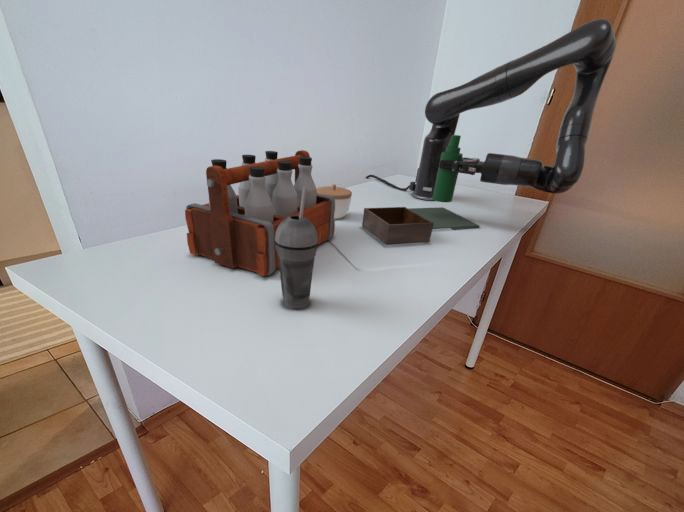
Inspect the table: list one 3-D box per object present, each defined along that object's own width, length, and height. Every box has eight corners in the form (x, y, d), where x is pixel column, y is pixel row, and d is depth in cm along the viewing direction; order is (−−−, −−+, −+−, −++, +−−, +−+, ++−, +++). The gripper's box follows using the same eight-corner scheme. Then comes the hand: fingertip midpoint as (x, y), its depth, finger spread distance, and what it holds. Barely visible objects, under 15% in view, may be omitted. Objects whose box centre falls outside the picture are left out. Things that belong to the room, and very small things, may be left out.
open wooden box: (361, 227, 105) (364, 208, 102) (401, 225, 109) (405, 206, 106) (385, 246, 94) (388, 225, 90) (429, 243, 98) (433, 223, 94)
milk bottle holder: (338, 236, 98) (345, 155, 86) (259, 283, 72) (253, 177, 60) (274, 220, 105) (272, 144, 93) (180, 257, 79) (162, 159, 68)
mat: (397, 211, 122) (397, 208, 121) (442, 209, 127) (443, 207, 127) (429, 230, 107) (430, 228, 106) (478, 228, 113) (479, 225, 112)
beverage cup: (276, 293, 69) (273, 180, 57) (315, 294, 70) (319, 182, 58) (275, 312, 63) (271, 191, 51) (316, 313, 64) (322, 193, 52)
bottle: (428, 197, 115) (441, 133, 105) (444, 197, 117) (458, 134, 106) (439, 202, 110) (453, 136, 100) (455, 201, 112) (471, 137, 102)
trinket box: (332, 210, 117) (334, 179, 111) (356, 219, 111) (360, 186, 105) (307, 215, 111) (308, 182, 105) (331, 225, 105) (333, 190, 99)
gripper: (505, 152, 107) (447, 145, 111) (504, 157, 96) (441, 150, 100) (496, 179, 111) (442, 172, 116) (495, 188, 100) (435, 180, 105)
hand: (441, 162), depth 108 cm, fingers closed on bottle, 6 cm apart
